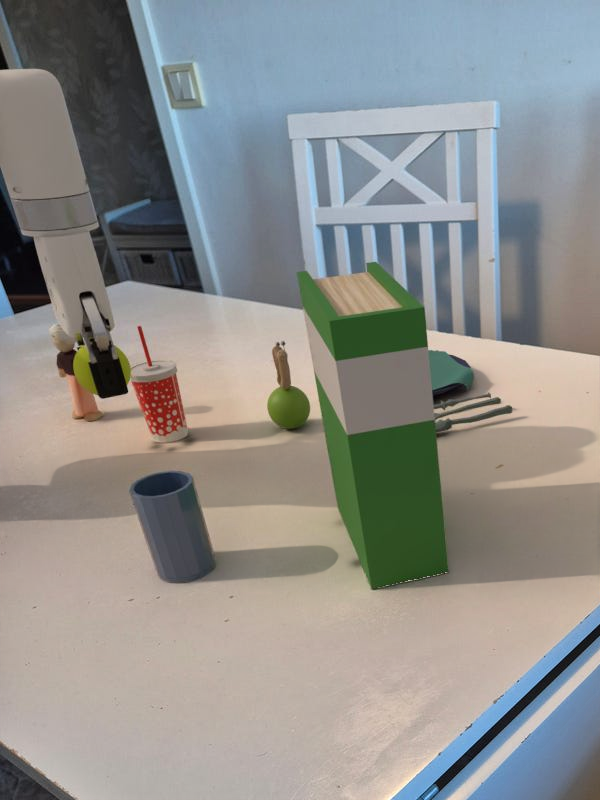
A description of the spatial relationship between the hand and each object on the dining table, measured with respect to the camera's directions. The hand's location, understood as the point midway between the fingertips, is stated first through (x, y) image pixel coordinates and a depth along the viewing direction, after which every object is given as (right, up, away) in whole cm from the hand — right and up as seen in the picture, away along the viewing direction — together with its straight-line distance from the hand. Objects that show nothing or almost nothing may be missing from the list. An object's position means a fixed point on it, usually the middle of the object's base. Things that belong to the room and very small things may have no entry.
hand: (107, 385), depth 96 cm
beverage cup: (+2, -3, +14) cm, 14 cm away
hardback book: (+34, -19, -12) cm, 41 cm away
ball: (0, +2, -1) cm, 2 cm away
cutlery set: (+34, +4, +20) cm, 40 cm away
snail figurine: (+19, -2, +13) cm, 23 cm away
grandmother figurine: (-12, +2, +21) cm, 24 cm away
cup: (+14, -22, -14) cm, 30 cm away
